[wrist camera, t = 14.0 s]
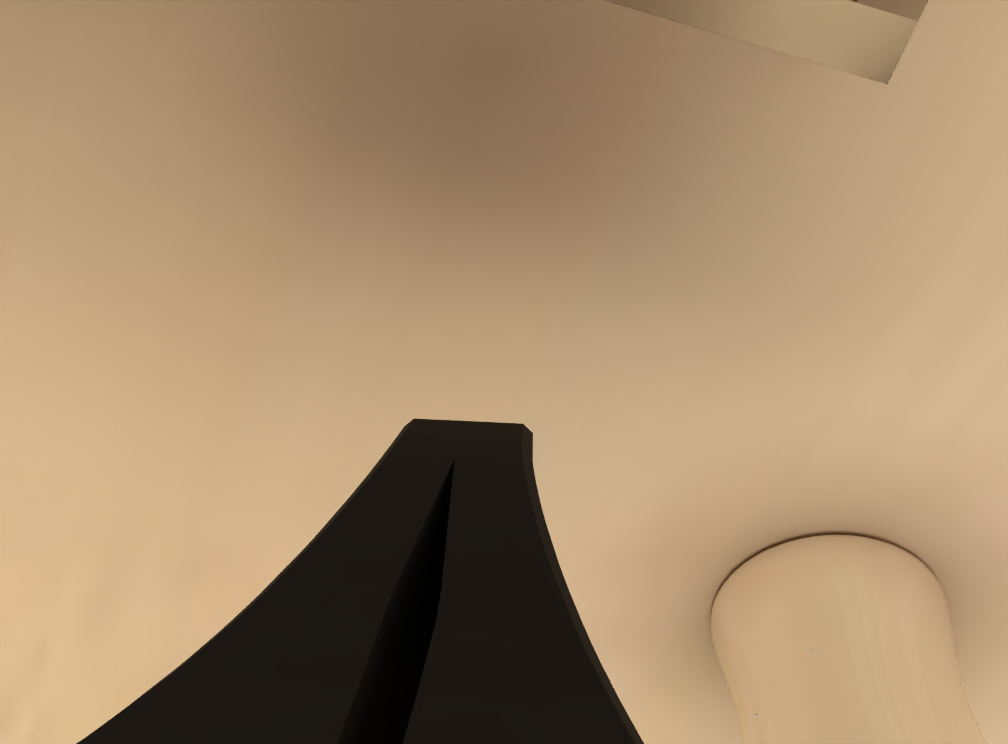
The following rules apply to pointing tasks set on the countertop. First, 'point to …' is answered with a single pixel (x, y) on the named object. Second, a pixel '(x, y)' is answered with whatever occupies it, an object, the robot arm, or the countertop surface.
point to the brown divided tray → (806, 28)
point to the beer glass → (840, 647)
